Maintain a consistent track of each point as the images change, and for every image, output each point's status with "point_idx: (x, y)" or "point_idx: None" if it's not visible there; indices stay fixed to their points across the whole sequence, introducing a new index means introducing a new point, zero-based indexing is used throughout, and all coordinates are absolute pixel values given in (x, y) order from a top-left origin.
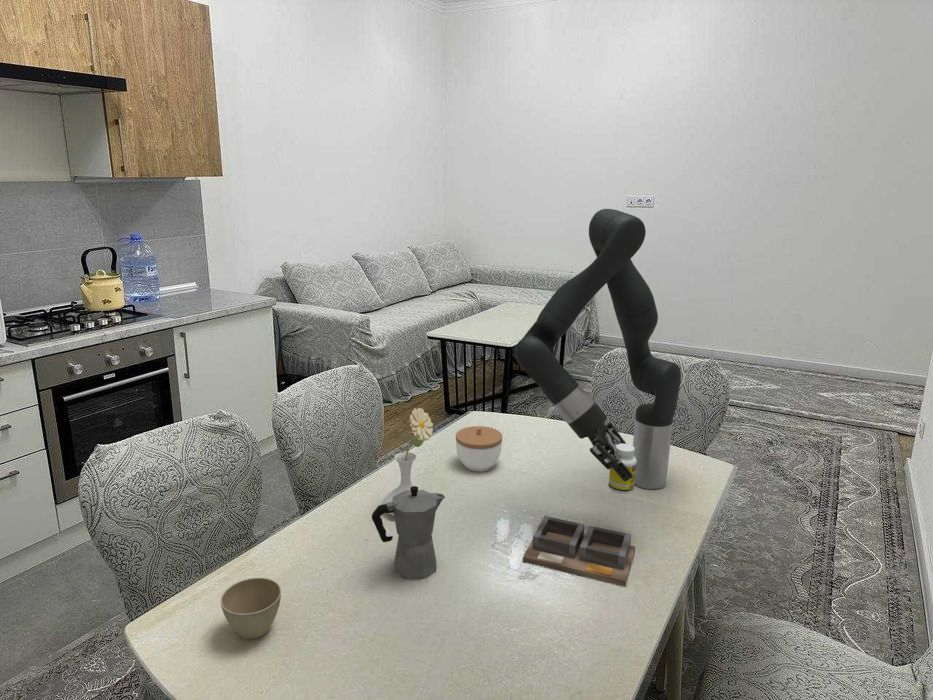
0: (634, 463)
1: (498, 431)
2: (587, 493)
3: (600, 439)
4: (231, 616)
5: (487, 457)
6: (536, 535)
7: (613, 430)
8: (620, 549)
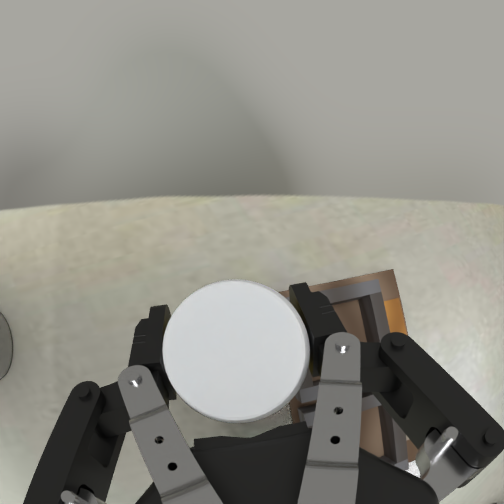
0: (253, 282)
1: None
2: None
3: (429, 493)
4: None
5: None
6: (402, 466)
7: (67, 487)
8: (357, 297)
